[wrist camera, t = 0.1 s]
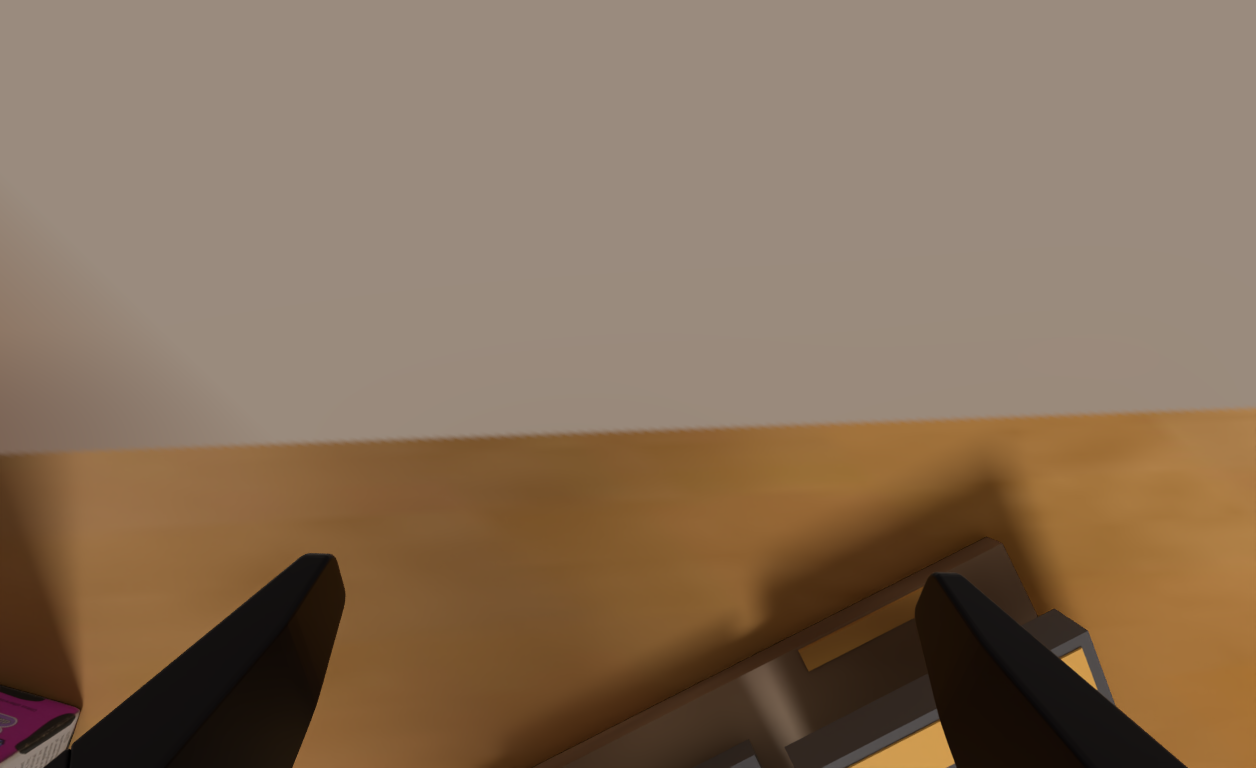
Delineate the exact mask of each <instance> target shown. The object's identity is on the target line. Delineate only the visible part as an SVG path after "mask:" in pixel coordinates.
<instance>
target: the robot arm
mask: <svg viewBox="0 0 1256 768" xmlns="http://www.w3.org/2000/svg"><path fill="white" fill-rule="evenodd" d="M344 605H345V588H344V584H343V581H342V577H341V574H340V570H339V566H338V563H337V560H336V558H335V557H334V556H333V555H332V554H319V553H308V554H305V555H303V556H301V557H300V558H298V559H297V560H296V561H295V562H294V563H292V564H291V565H290V566H289V567H288V568H286V569H285V570H284V571H283V572H281V573H280V574H279V575H278V576H277V577H275V578H274V579H273V580H272V581H270V582H269V583H268V584H267V585H266V586H264V587H263V588H262V589H261V590H259V591H258V592H257V593H256V594H255V595H253V596H252V597H251V598H250V599H248V600H247V601H246V602H245V603H244V604H242V605H241V606H240V607H239V608H237V609H236V610H235V611H234V612H233V613H231V614H230V615H229V616H228V617H226V618H225V619H224V620H223V621H222V622H220V623H219V624H218V625H217V626H216V627H214V628H213V629H212V630H211V631H209V632H208V633H207V634H206V635H205V636H203V637H202V638H201V639H200V640H198V641H197V642H196V643H195V644H194V645H192V646H191V647H190V648H189V649H187V650H186V651H185V652H184V653H183V654H181V655H180V656H179V657H178V658H176V659H175V660H174V661H173V662H172V663H170V664H169V665H168V666H167V667H165V668H164V669H163V670H162V671H161V672H159V673H158V674H157V675H156V676H155V677H153V678H152V679H151V680H150V681H148V682H147V683H146V684H145V685H144V686H142V687H141V688H140V689H139V690H137V691H136V692H135V693H134V694H133V695H131V696H130V697H129V698H128V699H126V700H125V701H124V702H123V703H122V704H120V705H119V706H118V707H117V708H115V709H114V710H113V711H112V712H111V713H109V714H108V715H107V716H106V717H104V718H103V719H102V720H101V721H100V722H98V723H97V724H96V725H95V726H93V727H92V728H91V729H90V730H89V731H87V732H86V733H85V734H84V735H83V736H81V737H80V738H79V739H78V740H76V741H75V742H74V743H73V744H72V746H71V749H66V750H64V751H63V752H61V753H60V754H59V755H58V756H57V757H55V758H54V759H53V760H52V761H50V762H49V763H48V764H47V765H46V766H44V767H43V768H292V767H293V764H294V762H295V759H296V757H297V754H298V752H299V749H300V747H301V744H302V742H303V739H304V737H305V734H306V732H307V729H308V727H309V724H310V721H311V719H312V716H313V713H314V711H315V708H316V705H317V702H318V699H319V695H320V692H321V689H322V685H323V681H324V678H325V674H326V670H327V667H328V663H329V660H330V656H331V652H332V649H333V645H334V641H335V638H336V634H337V631H338V627H339V623H340V620H341V616H342V612H343V609H344ZM914 616H915V623H916V628H917V632H918V636H919V640H920V644H921V648H922V652H923V656H924V660H925V664H926V668H927V672H928V676H929V680H930V684H931V689H932V693H933V697H934V701H935V705H936V708H937V712H938V716H939V719H940V722H941V725H942V728H943V731H944V734H945V737H946V740H947V743H948V746H949V748H950V751H951V754H952V757H953V759H954V762H955V765H956V768H1188V767H1186V766H1185V765H1184V764H1183V763H1182V762H1181V761H1179V760H1178V759H1177V758H1176V757H1175V756H1173V755H1172V754H1171V753H1170V752H1169V751H1168V750H1166V749H1165V748H1164V747H1163V746H1162V745H1161V744H1159V743H1158V742H1157V741H1156V740H1155V739H1154V738H1152V737H1151V736H1150V735H1149V734H1148V733H1147V732H1145V731H1144V730H1143V729H1142V728H1141V727H1140V726H1138V725H1137V724H1136V723H1135V722H1134V721H1133V720H1131V719H1130V718H1129V717H1128V716H1127V715H1125V714H1124V713H1123V712H1122V711H1121V710H1120V709H1118V708H1117V707H1116V706H1115V705H1114V704H1113V703H1111V702H1110V701H1109V700H1108V699H1107V698H1106V697H1104V696H1103V695H1102V694H1101V693H1100V692H1099V691H1097V690H1096V689H1095V688H1094V687H1093V686H1092V685H1090V684H1089V683H1088V682H1087V681H1086V680H1084V679H1083V678H1082V677H1081V676H1080V675H1079V674H1077V673H1076V672H1075V671H1074V670H1073V669H1072V668H1070V667H1069V666H1068V665H1067V664H1066V663H1065V662H1063V661H1062V660H1061V659H1060V658H1059V657H1058V656H1056V655H1055V654H1054V653H1053V652H1052V651H1051V650H1049V649H1048V648H1047V647H1046V646H1045V645H1044V644H1042V643H1041V642H1040V641H1039V640H1038V639H1036V638H1035V637H1034V636H1033V635H1032V634H1031V633H1029V632H1028V631H1027V630H1026V629H1025V628H1024V627H1022V626H1021V625H1020V624H1019V623H1018V622H1017V621H1015V620H1014V619H1013V618H1012V617H1011V616H1010V615H1008V614H1007V613H1006V612H1005V611H1004V610H1003V609H1001V608H1000V607H999V606H998V605H997V604H995V603H994V602H993V601H992V600H991V599H990V598H988V597H987V596H986V595H985V594H984V593H983V592H981V591H980V590H979V589H978V588H977V587H976V586H974V585H973V584H972V583H971V582H970V581H969V580H967V579H966V578H965V577H964V576H962V575H961V574H959V573H954V572H932V573H931V574H930V575H929V576H928V578H927V580H926V582H925V584H924V587H923V589H922V592H921V594H920V596H919V599H918V601H917V604H916V607H915V615H914Z"/></svg>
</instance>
